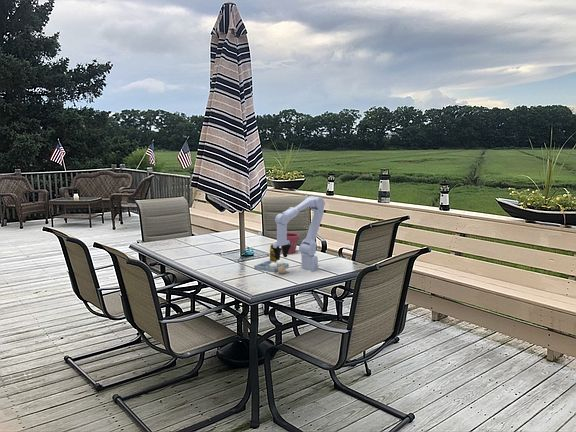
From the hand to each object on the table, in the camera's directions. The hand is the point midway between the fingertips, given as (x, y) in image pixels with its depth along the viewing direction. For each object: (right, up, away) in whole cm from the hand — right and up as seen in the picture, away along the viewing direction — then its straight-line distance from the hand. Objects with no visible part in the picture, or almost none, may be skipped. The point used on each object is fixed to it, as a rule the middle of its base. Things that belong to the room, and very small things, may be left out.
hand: (281, 258), depth 270 cm
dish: (0, -9, +1) cm, 10 cm away
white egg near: (-1, -7, +13) cm, 15 cm away
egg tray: (-6, -8, +12) cm, 16 cm away
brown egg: (0, -9, +1) cm, 9 cm away
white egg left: (-5, -8, +7) cm, 11 cm away
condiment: (-5, -6, +28) cm, 29 cm away
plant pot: (+4, -1, +57) cm, 57 cm away
